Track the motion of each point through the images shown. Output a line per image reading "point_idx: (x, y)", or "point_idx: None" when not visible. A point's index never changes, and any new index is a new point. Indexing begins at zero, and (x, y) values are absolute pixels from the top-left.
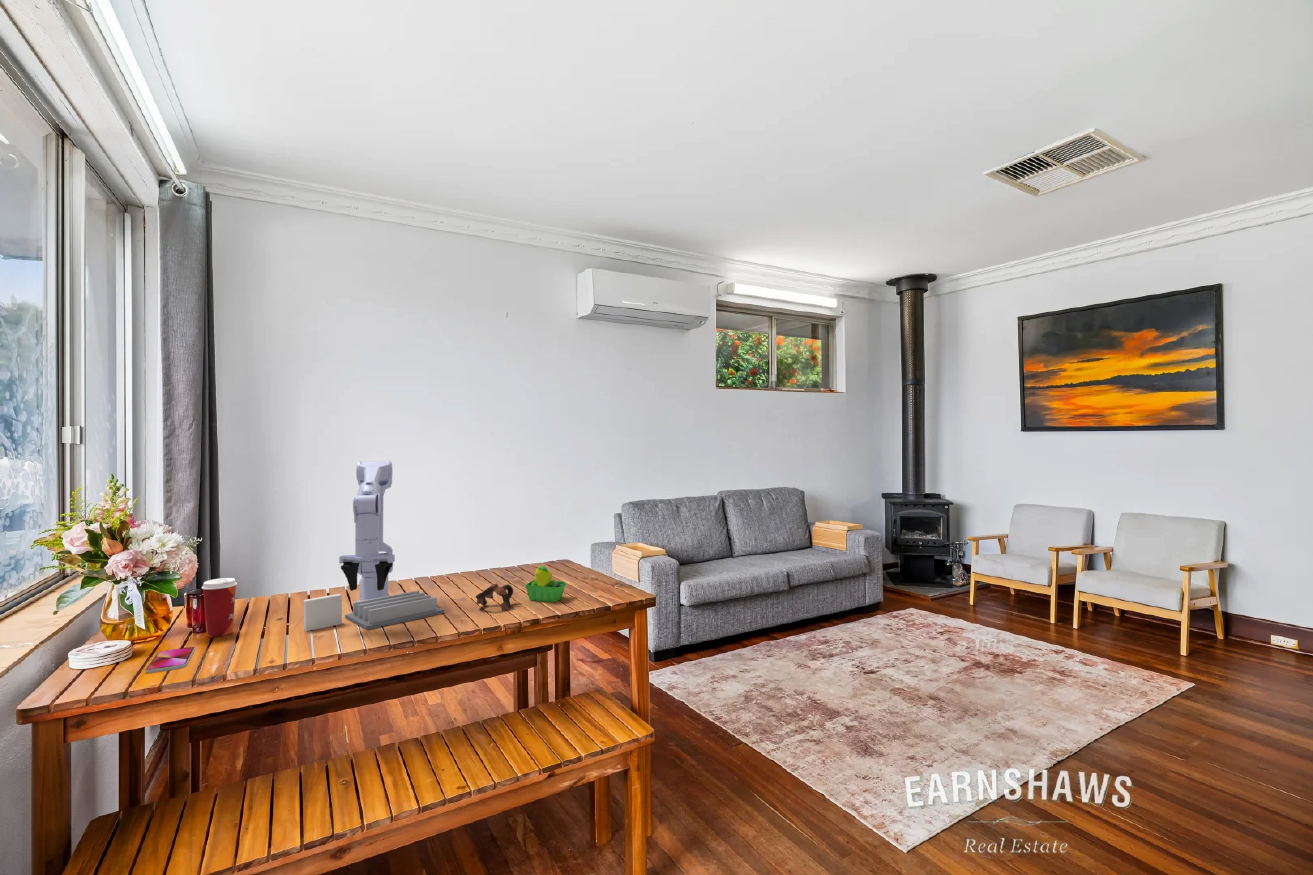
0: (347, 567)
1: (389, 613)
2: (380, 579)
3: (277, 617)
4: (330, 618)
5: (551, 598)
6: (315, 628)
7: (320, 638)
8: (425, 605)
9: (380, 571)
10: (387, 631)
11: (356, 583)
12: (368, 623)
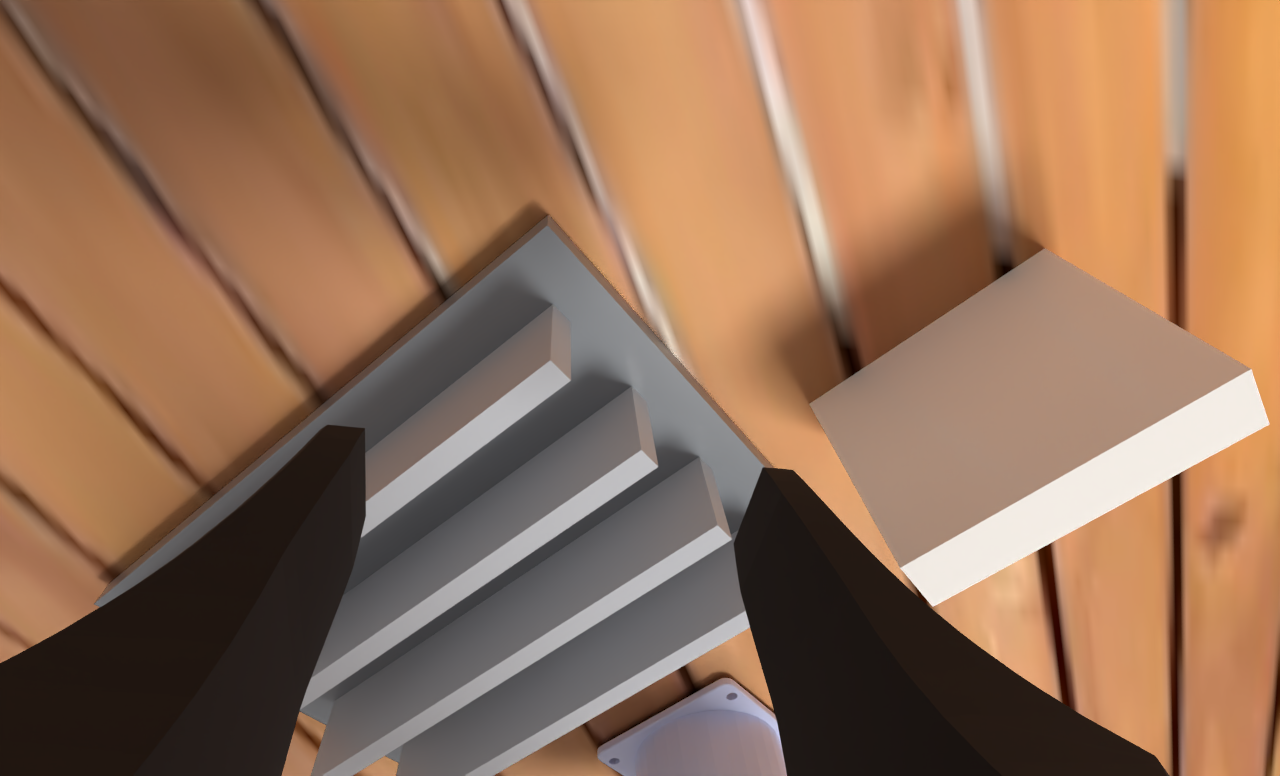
0: (1016, 769)
1: (417, 433)
2: (214, 527)
3: (1238, 552)
4: (905, 386)
5: None
6: (982, 294)
7: (894, 4)
8: None
9: (69, 654)
10: (327, 152)
11: (753, 604)
12: (565, 311)
